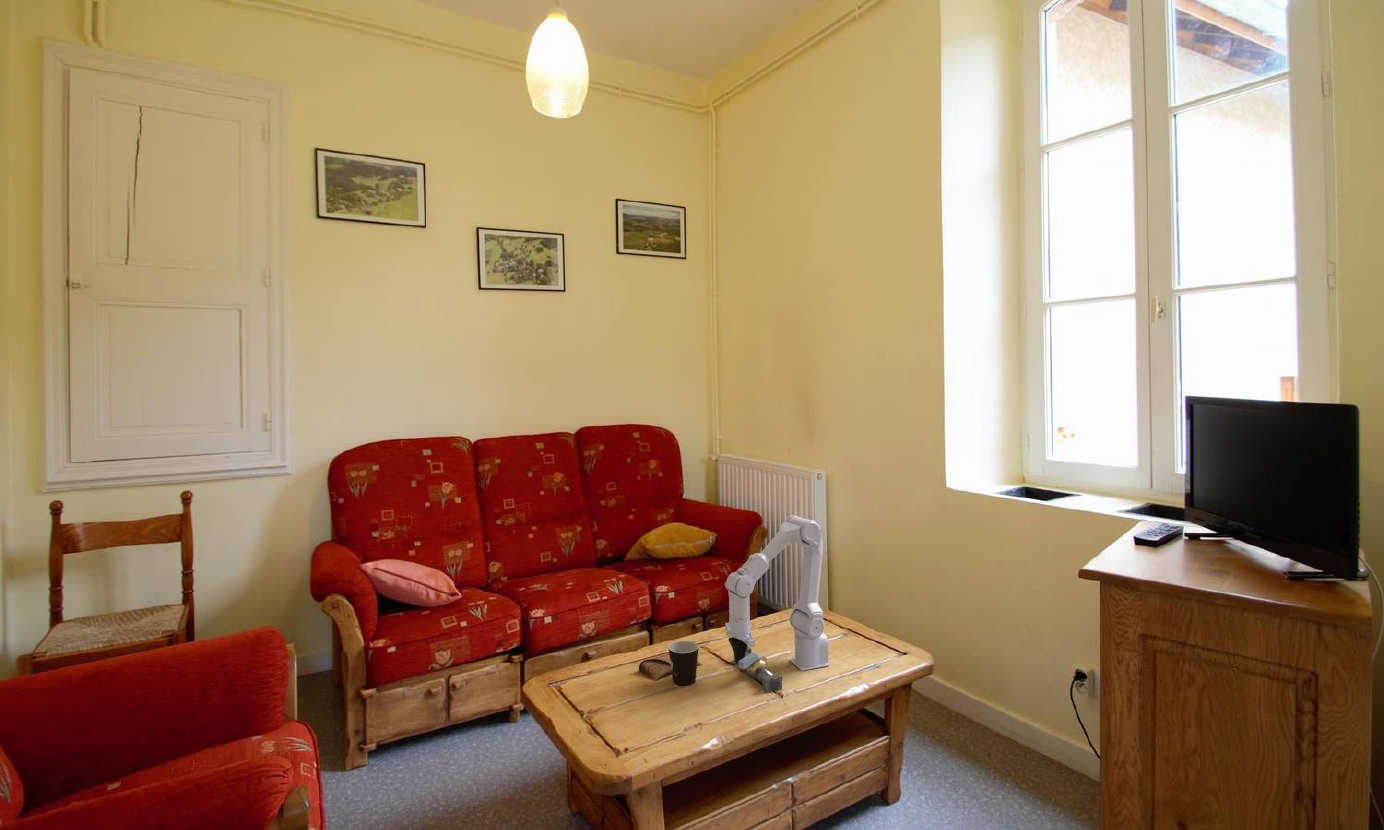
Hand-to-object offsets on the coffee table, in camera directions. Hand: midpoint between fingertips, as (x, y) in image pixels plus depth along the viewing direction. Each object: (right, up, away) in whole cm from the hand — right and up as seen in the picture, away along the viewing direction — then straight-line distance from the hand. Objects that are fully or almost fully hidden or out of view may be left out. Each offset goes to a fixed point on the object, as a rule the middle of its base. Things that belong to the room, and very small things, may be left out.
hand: (739, 663), depth 189 cm
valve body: (+5, -5, +4) cm, 8 cm away
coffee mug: (-15, -6, +2) cm, 16 cm away
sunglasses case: (-20, -6, +9) cm, 22 cm away
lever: (+3, 0, +1) cm, 3 cm away
